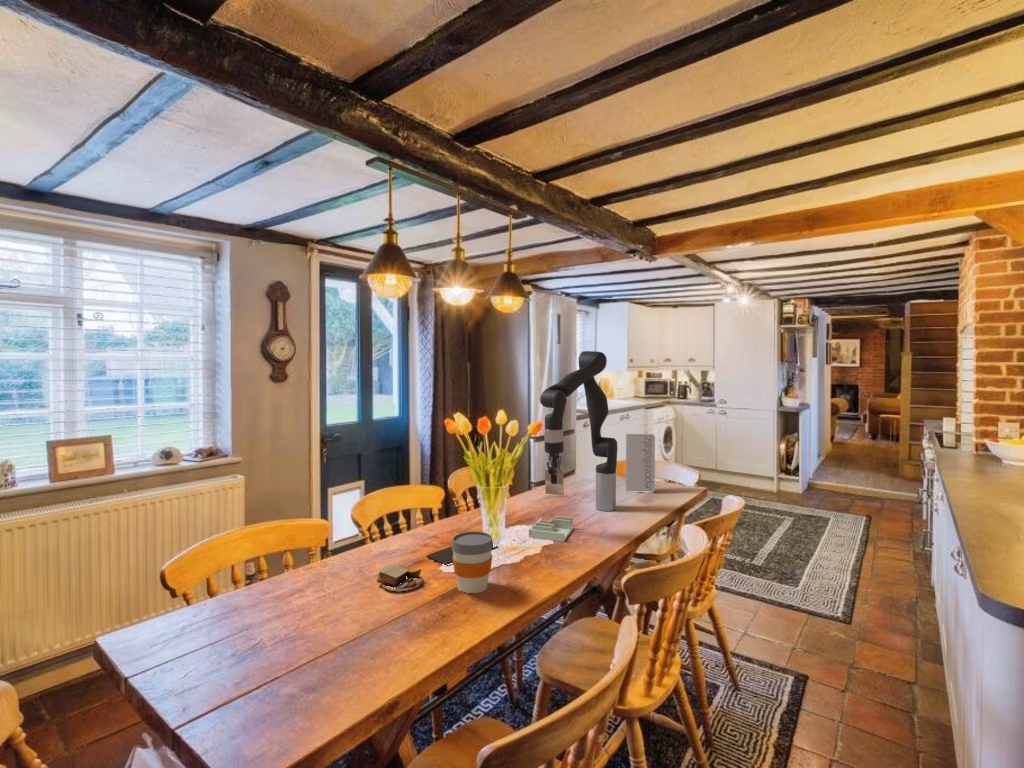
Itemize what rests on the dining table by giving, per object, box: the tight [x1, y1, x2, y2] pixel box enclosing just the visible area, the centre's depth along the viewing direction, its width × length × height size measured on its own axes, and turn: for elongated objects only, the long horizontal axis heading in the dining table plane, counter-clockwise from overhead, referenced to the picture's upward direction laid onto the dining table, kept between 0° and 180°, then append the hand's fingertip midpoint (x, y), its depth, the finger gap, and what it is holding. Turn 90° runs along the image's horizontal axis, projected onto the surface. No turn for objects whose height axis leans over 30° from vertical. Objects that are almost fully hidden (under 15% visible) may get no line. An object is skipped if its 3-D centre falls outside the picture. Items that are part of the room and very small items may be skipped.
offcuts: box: [538, 519, 552, 524], centre depth 199 cm, size 5×6×3 cm
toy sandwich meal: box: [376, 563, 424, 592], centre depth 153 cm, size 12×14×5 cm
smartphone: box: [425, 545, 453, 565], centre depth 178 cm, size 12×2×25 cm
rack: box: [528, 515, 574, 543], centre depth 198 cm, size 16×14×4 cm
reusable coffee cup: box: [451, 530, 494, 594], centre depth 150 cm, size 13×13×15 cm
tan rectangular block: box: [544, 467, 565, 496], centre depth 198 cm, size 2×7×10 cm, turn 70°
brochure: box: [625, 433, 656, 491], centre depth 260 cm, size 14×6×30 cm, turn 81°
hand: (554, 482), depth 198 cm, fingers closed on tan rectangular block, 1 cm apart
